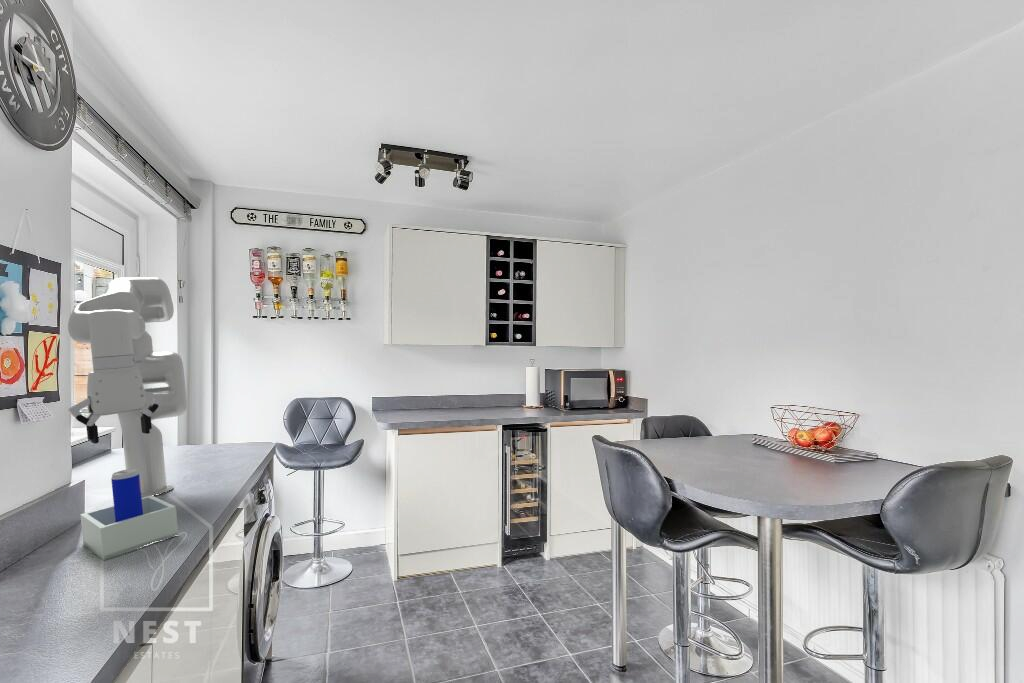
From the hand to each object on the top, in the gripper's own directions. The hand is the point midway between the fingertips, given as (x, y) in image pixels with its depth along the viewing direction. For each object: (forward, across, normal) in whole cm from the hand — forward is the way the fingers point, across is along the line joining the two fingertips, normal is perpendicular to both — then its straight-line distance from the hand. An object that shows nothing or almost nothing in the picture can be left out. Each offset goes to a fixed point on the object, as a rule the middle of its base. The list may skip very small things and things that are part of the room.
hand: (121, 437), depth 117 cm
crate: (+24, 0, 0) cm, 24 cm away
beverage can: (+23, 0, 0) cm, 23 cm away
